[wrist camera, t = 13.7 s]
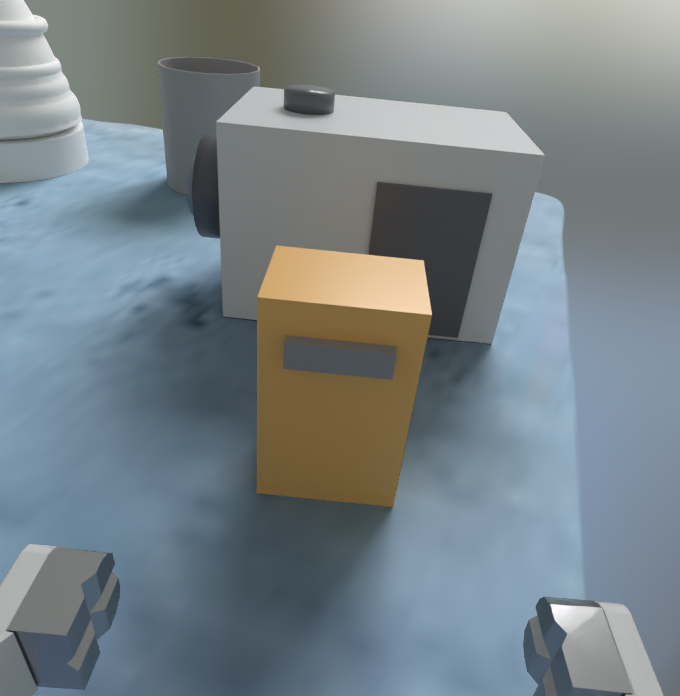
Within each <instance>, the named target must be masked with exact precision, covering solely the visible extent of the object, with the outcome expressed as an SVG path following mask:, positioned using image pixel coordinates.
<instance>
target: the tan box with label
mask: <svg viewBox="0 0 680 696" xmlns="http://www.w3.org/2000/svg"><path fill="white" fill-rule="evenodd" d="M431 318H432V311H431V305H430V298H429V292H428V285H427V279H426V273H425V266H424V260H414V259H404V258H395V257H385V256H375V255H365V254H355V253H346V252H336V251H326V250H316V249H306V248H296V247H287V246H277V245H276V248H275V251H274V253H273V256H272V259H271V261H270V264H269V267H268V270H267V272H266V275H265V278H264V280H263V283H262V286H261V288H260V291H259V294H258V297H257V493H258V494H268V495H278V496H288V497H297V498H307V499H317V500H327V501H337V502H347V503H356V504H366V505H376V506H386V507H393V504H394V499H395V495H396V490H397V485H398V480H399V475H400V470H401V465H402V460H403V455H404V450H405V445H406V441H407V436H408V431H409V426H410V421H411V416H412V411H413V406H414V401H415V396H416V391H417V387H418V382H419V377H420V372H421V367H422V362H423V357H424V352H425V347H426V342H427V337H428V333H429V328H430V323H431Z"/></svg>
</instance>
